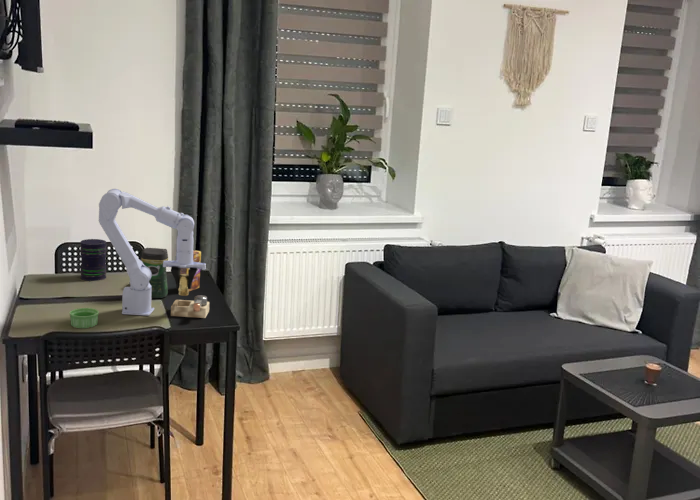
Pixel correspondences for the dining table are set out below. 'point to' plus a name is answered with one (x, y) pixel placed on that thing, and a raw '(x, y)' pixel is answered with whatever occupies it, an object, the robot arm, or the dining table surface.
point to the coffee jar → (156, 270)
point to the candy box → (197, 276)
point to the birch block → (188, 309)
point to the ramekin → (84, 317)
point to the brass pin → (183, 284)
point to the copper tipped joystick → (199, 302)
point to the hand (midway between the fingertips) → (183, 287)
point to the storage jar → (93, 259)
